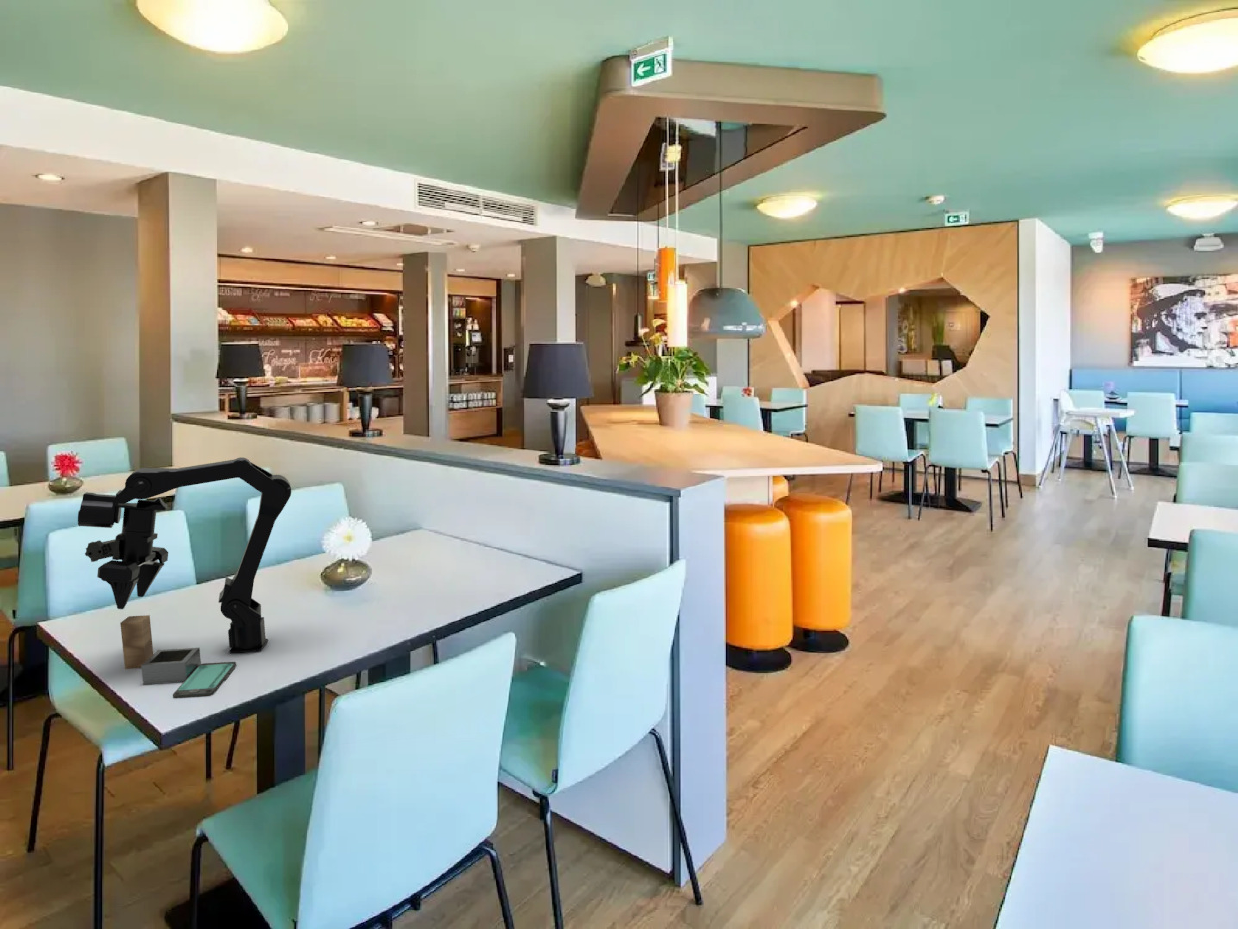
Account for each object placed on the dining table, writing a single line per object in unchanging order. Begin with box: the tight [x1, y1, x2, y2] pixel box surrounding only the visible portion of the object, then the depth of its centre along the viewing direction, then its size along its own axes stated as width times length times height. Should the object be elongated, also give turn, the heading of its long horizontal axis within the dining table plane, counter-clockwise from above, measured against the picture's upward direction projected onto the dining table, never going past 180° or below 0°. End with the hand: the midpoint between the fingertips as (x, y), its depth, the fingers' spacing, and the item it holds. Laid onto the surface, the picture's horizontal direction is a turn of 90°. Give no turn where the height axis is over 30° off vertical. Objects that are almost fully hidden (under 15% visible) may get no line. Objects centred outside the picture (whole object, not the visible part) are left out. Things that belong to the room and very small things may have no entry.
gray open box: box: [140, 647, 202, 686], centre depth 157 cm, size 8×8×4 cm
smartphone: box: [172, 661, 237, 699], centre depth 155 cm, size 7×1×15 cm
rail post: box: [120, 614, 154, 670], centre depth 162 cm, size 4×4×10 cm
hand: (130, 602), depth 161 cm, fingers open, 9 cm apart
